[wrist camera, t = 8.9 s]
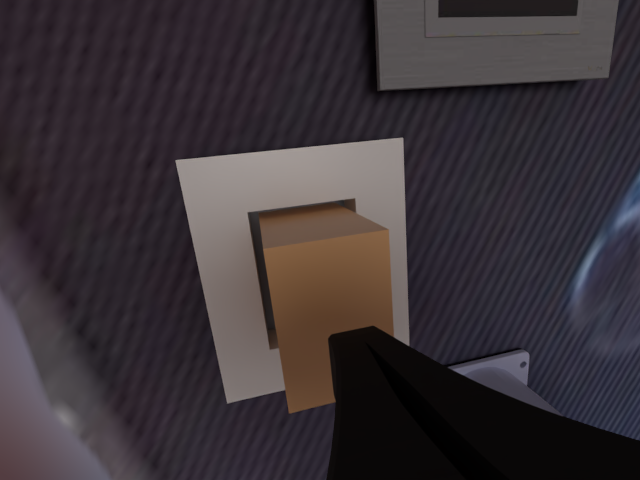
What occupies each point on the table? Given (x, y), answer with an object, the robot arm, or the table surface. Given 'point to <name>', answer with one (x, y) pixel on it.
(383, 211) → the socket block
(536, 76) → the electrical outlet
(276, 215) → the plug
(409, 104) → the table surface
